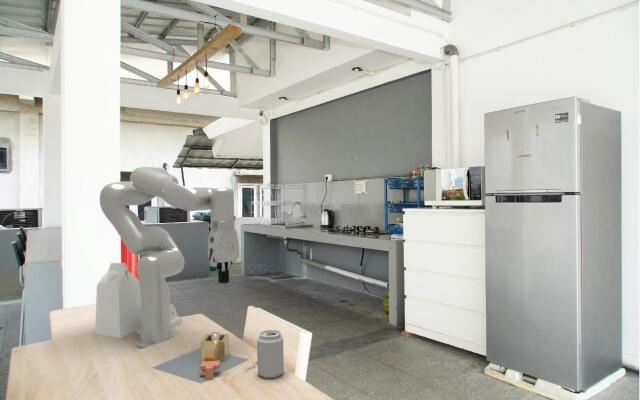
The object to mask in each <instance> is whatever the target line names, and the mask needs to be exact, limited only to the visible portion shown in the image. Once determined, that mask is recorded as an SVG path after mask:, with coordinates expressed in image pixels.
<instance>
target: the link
mask: <svg viewBox="0 0 640 400" xmlns="http://www.w3.org/2000/svg"><path fill="white" fill-rule="evenodd" d="M211 334H212V333H209V334H205V336H204V337H203V339H202V340H201V342H200V348H201V362H205V361H220V362H222V361H225V360H226V358H227V356H228V354H229V355H230V337H229V336H230V334H229V333H219V341H211ZM214 370H215V369H213V371H214ZM199 376H205V370H200V371H199Z"/></svg>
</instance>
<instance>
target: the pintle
mask: <svg viewBox="0 0 640 400" xmlns="http://www.w3.org/2000/svg"><path fill="white" fill-rule="evenodd" d="M210 334H211V341H219V334H220V332H218V331H214V332H212V333H210Z"/></svg>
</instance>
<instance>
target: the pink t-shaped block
mask: <svg viewBox="0 0 640 400" xmlns="http://www.w3.org/2000/svg"><path fill="white" fill-rule="evenodd" d="M219 367H220V361H205V362H202V363H201V366H200V370H205V380H207V381H209V380H211V381H212V380H213V379H214V378H215V377H214V375H213V369H219Z"/></svg>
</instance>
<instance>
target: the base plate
mask: <svg viewBox="0 0 640 400" xmlns="http://www.w3.org/2000/svg"><path fill="white" fill-rule="evenodd" d="M247 361H249V359H248V358H244V357H240V356H237V355H232V354H230V353H229V354H228V356H227V358H226V360H225V361H222V362H220V367H219V369H215V370H214V371H213V375H214V377H213V378H215V377H216V376H218V375H221V374H224V373H225V372H226V371H230V369H233V368H235V367H237V366H238V365H241V364H243V363H245V362H247ZM201 363H202V362H201V347H199V348H196V349H194V350H192V351H189V352H187V353H185V354H184V353H183V354H182V355H179V356H177V357H174V358H172V359H169V360H167V361H164V362H161V363H160V364H157V365H155V366H153V367H152V369H154V370H159V371H161V372H164V373H168V374H170V375H174V376H176V377H179V378H183V379H186V380H189V381H192V382H195V383H199V384H203V383H204V382H207V381H208V380H205V376H199V371H200V366H201Z"/></svg>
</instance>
